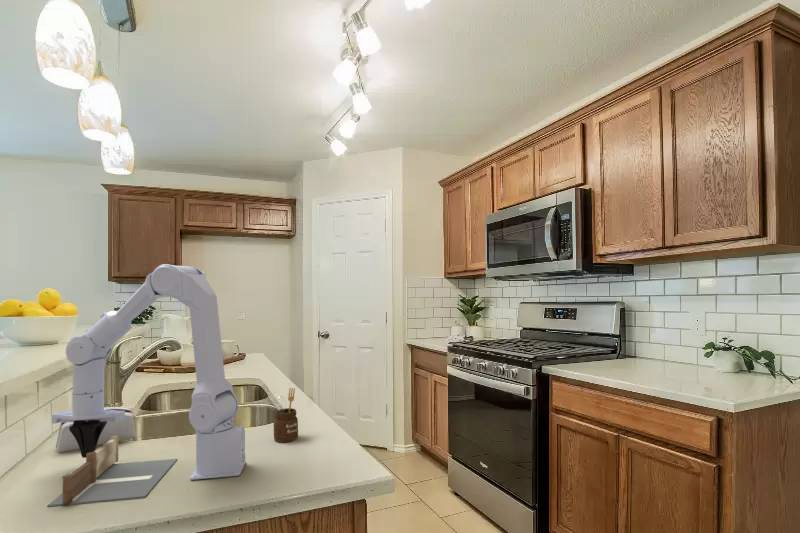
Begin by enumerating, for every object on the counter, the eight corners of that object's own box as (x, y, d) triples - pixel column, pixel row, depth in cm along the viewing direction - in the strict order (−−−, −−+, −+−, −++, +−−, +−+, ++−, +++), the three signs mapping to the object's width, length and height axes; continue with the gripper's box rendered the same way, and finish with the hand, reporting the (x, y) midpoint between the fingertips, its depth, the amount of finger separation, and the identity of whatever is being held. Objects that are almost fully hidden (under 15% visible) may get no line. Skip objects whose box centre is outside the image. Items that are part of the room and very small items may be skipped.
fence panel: (97, 478, 93) (97, 450, 93) (90, 479, 92) (90, 451, 93) (119, 460, 103) (119, 435, 103) (112, 460, 102) (112, 435, 103)
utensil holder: (268, 442, 114) (268, 392, 115) (283, 434, 120) (282, 387, 121) (289, 444, 112) (289, 393, 113) (303, 436, 118) (302, 388, 119)
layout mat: (177, 460, 103) (177, 458, 103) (145, 497, 85) (145, 495, 85) (98, 466, 101) (98, 464, 101) (47, 506, 82) (47, 504, 82)
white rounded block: (133, 433, 125) (135, 399, 122) (135, 443, 121) (138, 409, 119) (55, 447, 114) (56, 411, 112) (56, 459, 111) (56, 422, 109)
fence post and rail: (97, 482, 92) (97, 451, 93) (70, 505, 82) (70, 470, 83) (88, 482, 92) (88, 452, 92) (60, 506, 82) (60, 471, 82)
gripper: (133, 387, 104) (132, 448, 104) (68, 388, 104) (68, 450, 104) (113, 394, 97) (113, 460, 97) (44, 395, 97) (43, 462, 97)
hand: (88, 456), depth 100 cm, fingers closed
